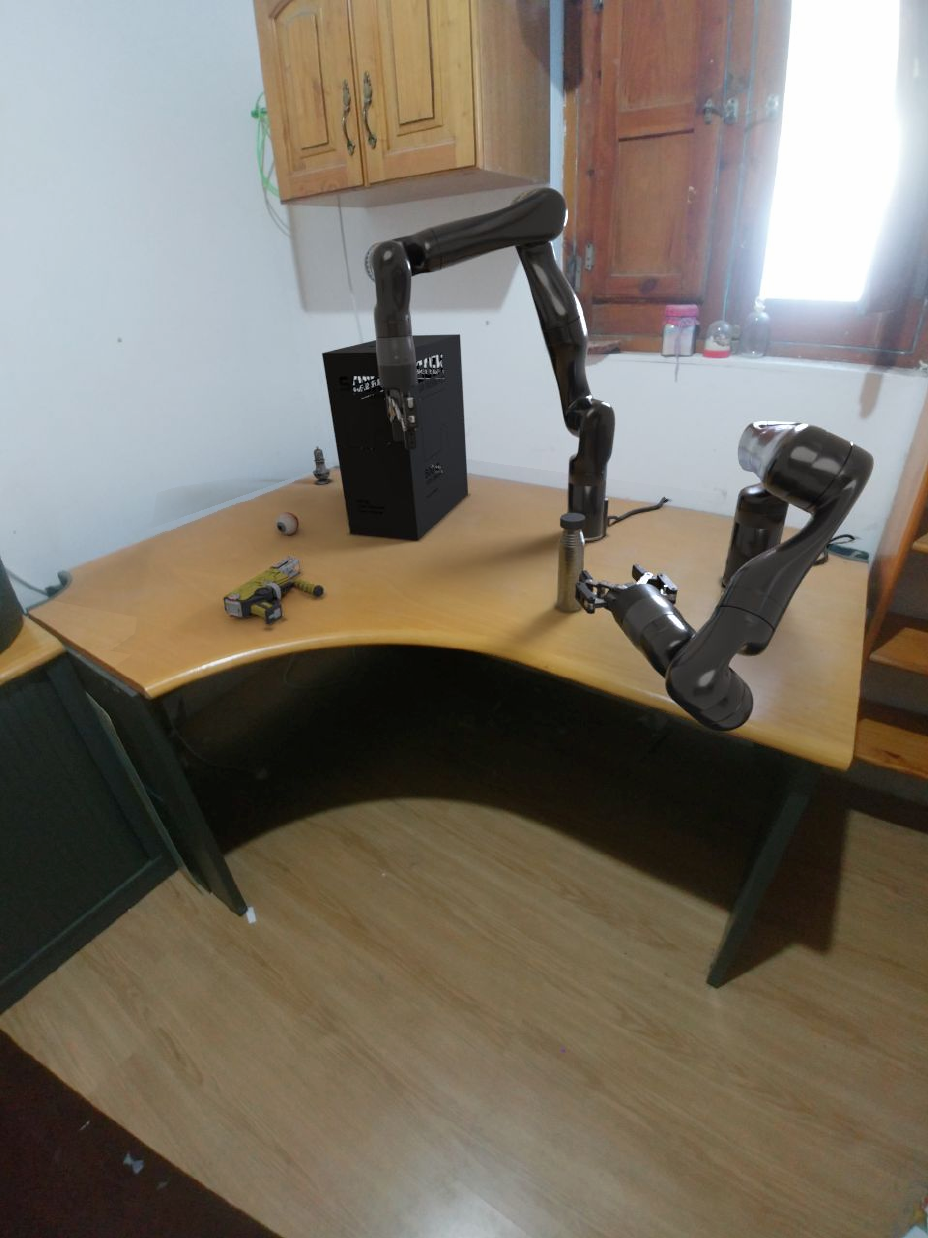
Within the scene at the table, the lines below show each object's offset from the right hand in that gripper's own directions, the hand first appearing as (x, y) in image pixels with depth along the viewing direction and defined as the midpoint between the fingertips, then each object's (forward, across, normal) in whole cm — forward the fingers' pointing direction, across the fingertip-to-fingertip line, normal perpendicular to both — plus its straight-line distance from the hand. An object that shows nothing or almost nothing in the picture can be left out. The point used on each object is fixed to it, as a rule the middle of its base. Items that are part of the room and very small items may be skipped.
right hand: (608, 572), depth 97 cm
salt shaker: (+124, +55, +16) cm, 136 cm away
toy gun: (+38, +58, +17) cm, 71 cm away
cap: (+20, 0, -2) cm, 20 cm away
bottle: (+20, 0, +17) cm, 26 cm away
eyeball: (+77, +62, +16) cm, 100 cm away
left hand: (+44, +29, -13) cm, 54 cm away
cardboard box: (+84, +27, +16) cm, 90 cm away
